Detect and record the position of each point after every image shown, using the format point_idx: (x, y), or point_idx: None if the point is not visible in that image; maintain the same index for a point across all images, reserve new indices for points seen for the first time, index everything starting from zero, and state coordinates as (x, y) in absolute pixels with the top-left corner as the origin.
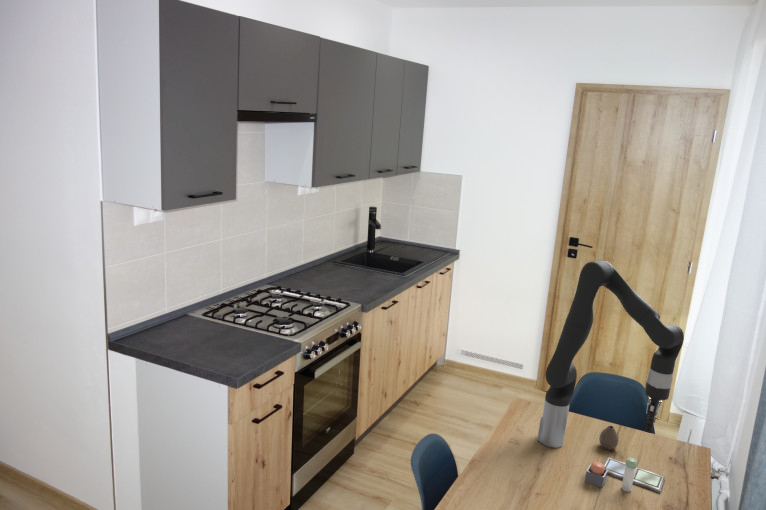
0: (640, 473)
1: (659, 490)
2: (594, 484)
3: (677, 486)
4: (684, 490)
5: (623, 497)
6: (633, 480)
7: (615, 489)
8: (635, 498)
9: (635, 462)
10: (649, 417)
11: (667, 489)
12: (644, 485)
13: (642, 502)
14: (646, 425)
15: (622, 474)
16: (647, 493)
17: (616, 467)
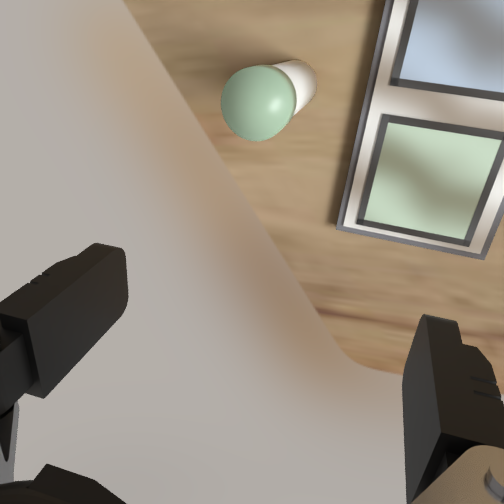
0: (459, 148)
1: (340, 226)
2: None
3: (434, 297)
4: (413, 317)
5: (216, 76)
6: (369, 114)
7: (262, 32)
8: None
9: (240, 129)
10: (425, 356)
11: (387, 257)
12: (350, 166)
13: (226, 156)
14: (14, 293)
15: (401, 53)
16: (308, 176)
17: (472, 9)
